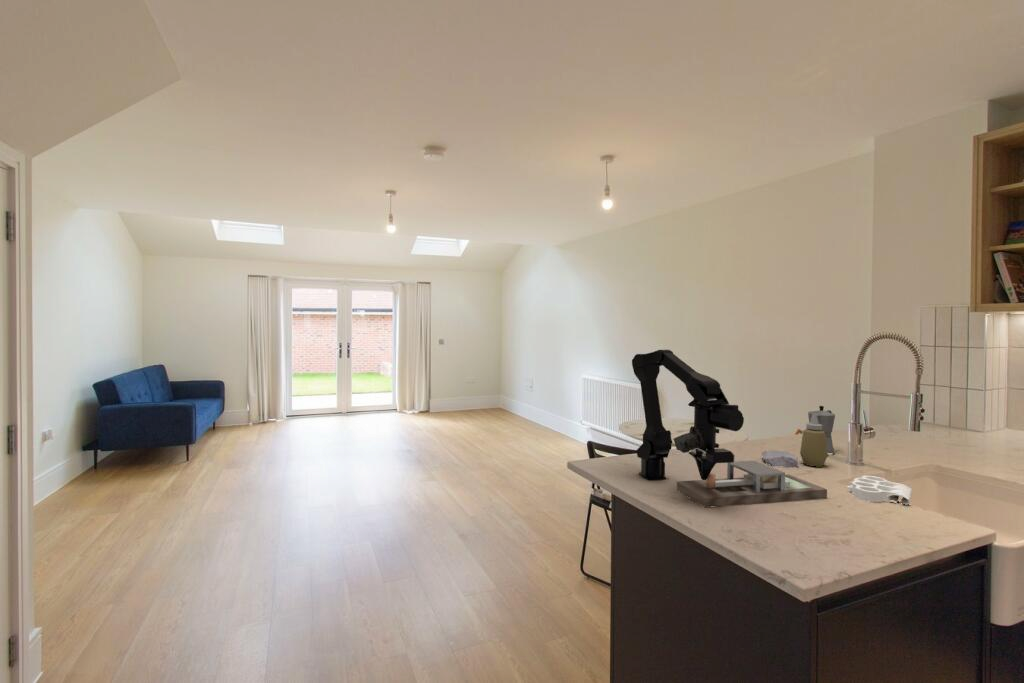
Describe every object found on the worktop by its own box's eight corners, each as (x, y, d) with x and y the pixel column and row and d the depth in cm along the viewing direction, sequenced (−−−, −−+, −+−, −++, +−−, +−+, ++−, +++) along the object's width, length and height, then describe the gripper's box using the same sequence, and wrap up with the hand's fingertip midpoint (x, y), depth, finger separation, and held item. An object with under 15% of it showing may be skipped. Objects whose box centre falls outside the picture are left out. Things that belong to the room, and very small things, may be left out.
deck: (704, 507, 128) (705, 498, 127) (676, 489, 141) (676, 481, 141) (826, 498, 135) (827, 489, 135) (788, 482, 149) (789, 474, 149)
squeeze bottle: (826, 464, 169) (828, 413, 169) (827, 469, 162) (828, 416, 162) (800, 460, 174) (801, 411, 173) (799, 466, 167) (800, 414, 166)
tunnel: (756, 493, 131) (756, 474, 131) (727, 479, 144) (727, 461, 143) (784, 491, 133) (785, 472, 133) (753, 477, 145) (754, 460, 145)
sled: (716, 492, 131) (716, 478, 131) (698, 482, 139) (698, 469, 139) (789, 487, 136) (790, 474, 136) (768, 478, 144) (768, 465, 144)
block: (762, 488, 135) (762, 474, 135) (748, 481, 141) (748, 468, 141) (781, 487, 137) (781, 473, 136) (765, 480, 142) (766, 467, 142)
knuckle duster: (908, 511, 127) (841, 497, 137) (912, 494, 140) (851, 483, 150) (908, 498, 127) (841, 486, 137) (913, 482, 140) (852, 472, 150)
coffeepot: (826, 457, 178) (827, 409, 177) (799, 452, 186) (800, 405, 185) (843, 451, 187) (844, 405, 186) (817, 446, 195) (818, 402, 194)
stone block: (770, 472, 166) (801, 468, 164) (767, 458, 166) (798, 454, 164) (759, 464, 178) (788, 460, 176) (756, 451, 178) (785, 447, 176)
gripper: (661, 418, 142) (660, 471, 143) (697, 432, 124) (696, 492, 124) (696, 417, 144) (695, 469, 145) (736, 431, 126) (734, 490, 126)
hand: (703, 479), depth 135 cm, fingers closed, pressing on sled
